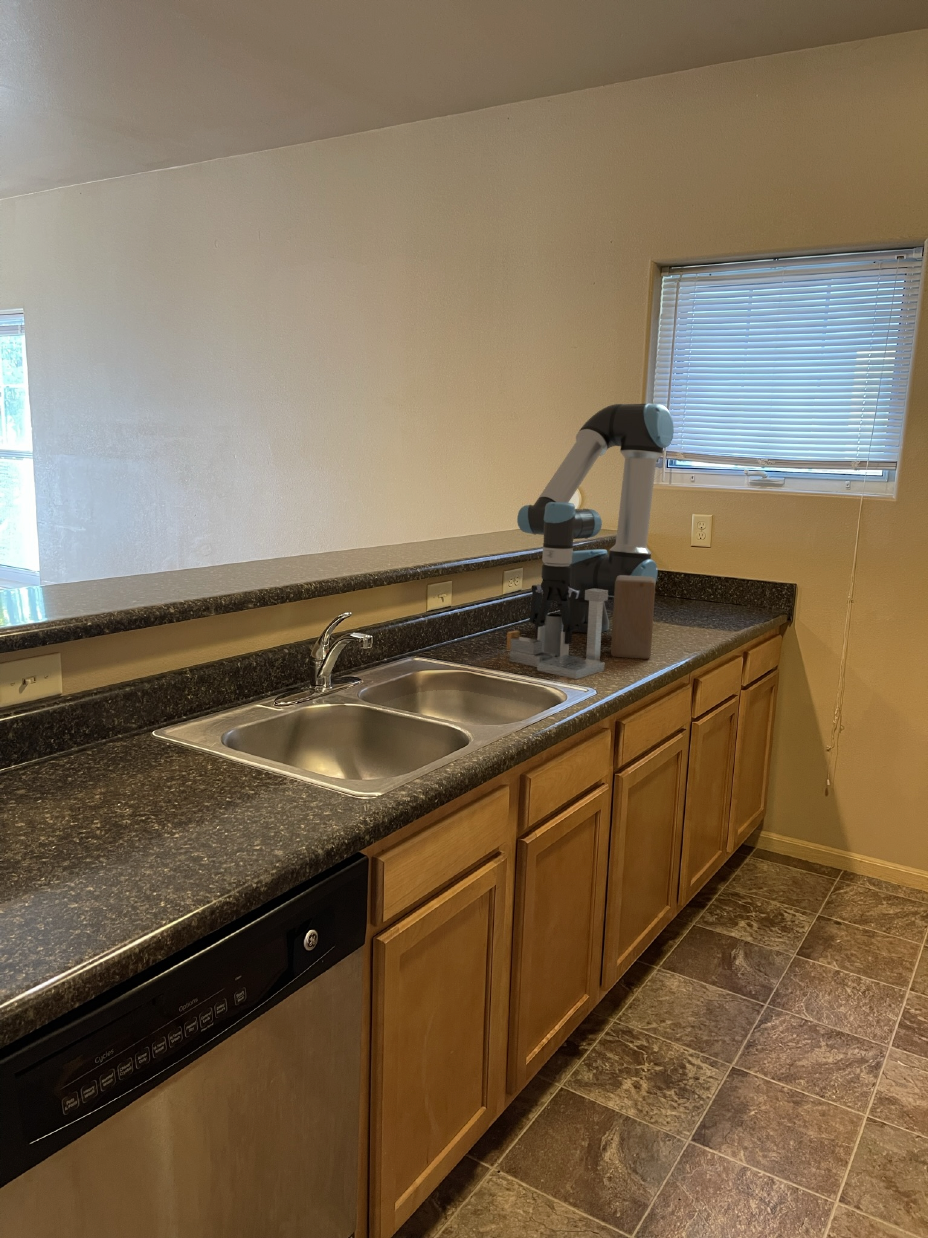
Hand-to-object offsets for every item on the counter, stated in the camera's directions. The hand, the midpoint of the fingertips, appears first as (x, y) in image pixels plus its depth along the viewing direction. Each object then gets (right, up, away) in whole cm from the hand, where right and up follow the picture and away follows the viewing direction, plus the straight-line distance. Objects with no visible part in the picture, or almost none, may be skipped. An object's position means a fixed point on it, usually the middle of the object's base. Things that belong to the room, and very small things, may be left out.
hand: (552, 653), depth 234 cm
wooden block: (+21, -1, +3) cm, 21 cm away
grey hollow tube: (0, 0, 0) cm, 1 cm away
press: (+1, -2, -11) cm, 11 cm away
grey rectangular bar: (-8, +1, -8) cm, 11 cm away
